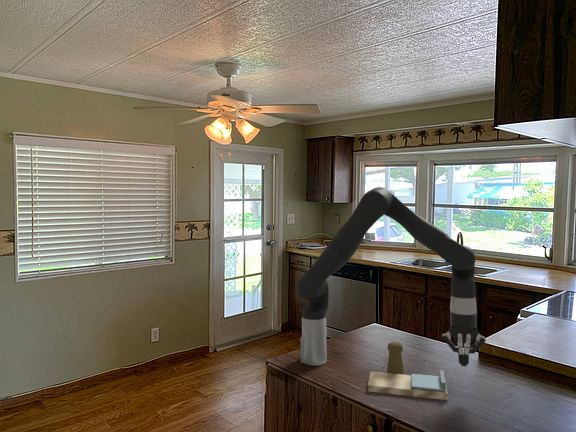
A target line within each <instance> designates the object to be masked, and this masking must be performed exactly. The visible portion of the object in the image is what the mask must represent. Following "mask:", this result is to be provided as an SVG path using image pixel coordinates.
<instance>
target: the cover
mask: <svg viewBox="0 0 576 432" xmlns="http://www.w3.org/2000/svg"><path fill="white" fill-rule="evenodd" d="M411 375H412V388H416V389H426V390H435V391H445V392H446V387H447V384H446V383H447V382H446V377H445V371H444V370H443V369H442V370H441V369H439V375H432V374H431V375H430V374H429V375H427V374H419V373H411Z"/></svg>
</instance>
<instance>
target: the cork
mask: <svg viewBox="0 0 576 432" xmlns="http://www.w3.org/2000/svg"><path fill="white" fill-rule="evenodd" d="M387 350H388V352H389V353H388V359H387V367H386V373H392V374H402V375H405V370H404V364H403V363H404V362H403V361H404V360H403V355H402V352H403V350H404V347H403V344H402V343H401V342H398V341H390V342H388V344H387Z"/></svg>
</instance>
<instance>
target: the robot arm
mask: <svg viewBox="0 0 576 432" xmlns="http://www.w3.org/2000/svg"><path fill="white" fill-rule="evenodd" d="M383 216H385V217H388V218H390V219H392V220H394V221H395V222H396V223H398V224H399V225H400V226H401V227H402V228H404V230H405V231H406V232H407V233H408V234H409V235H411V237H412V238H413V239H414V240H416V241H417V242H418V243H420V244H421V245H422V246H424V247H425V248H427V249H428V250H430V251H432V252H433V253H435V254H437V255H438V256H439V257H440V258H442V260H444V261H445V262H447V264H449V265H451V281H450V305H449V309H450V314H449V315H450V316H449V317H450V318H449V320H450V326H449V328H448V331H446V333H442V339H443V341H444V342H445V343H446V344H447V345H448V347H449V348H450V349H451V350H452V351H453V353H457V355H458V364H459V365H460V366H461V367H467V366H468V365H469V363H470V361H469V360H470V356H469V355H471V354H475V353H477V351H478V350H479V349H480V348H481V347H482V346H483V345H484V344H485V343H486V337H485V336H484V335H481V334H480V333H479V331H478V328H477V327H478V326H477V323H478V322H477V318H478V317H477V315H478V314H477V311H478V309H477V299H476V296H477V295H476V281H475V268H476V267H475V265H476V254H475V252H474V250H473V249H472V248H471V247H470V246H467V245H463V244H461V243H460V242H457V240H454V239H453V238H452V237H451V236H450V235H449V234H447V233H446V232H445V231H443V230H442V229H440V228H438V227H437V226H435V225H434V224H432V223H431V222H430V221H428V220H426V219H425V218H423V217H421V216H420V215H419V214H417V213H416V212H415V211H413V210H412V209H411V208H409V207H408V206H407V205H405V204H404V203H403V202H402V201H401V200H400V199H399V198H398V197H396V195H394V194H393V192H391V191H390V190H389V189H387V188H385V187H381V186H376V187H375V188H372V189H370V190H368V191H366V192H365V193H364V194H363V195H362V197H361V199H360V201H359V203H357V206H356V208H355V210H354V211H353V212H352V214H351V215H350V217H349V218H348V219H347V221H346V222H345V223H344V224H343V225H342V226H341V227H340V229H338V231H337V232H336V233H335V234H334V236H333V237H332V238H331V240H330V241H329V242H328V244H327V245H326V247H325V248H324V250H323V251H322V252H321V254H320V255H319V256H318V257H317V259H316V260H315V262H314V263H313V264H312V266H311V267H310V268H309V269H308V270H307V271H306V272H305V273H304V274H303V275H302V276H301V277H300V278H299V280H298V281H297V284H296V294H297V296H298V297H299V298H300V299H301V300H304V301H307V302H306V304H305V306H303V308H302V310H301V337H300V363H301V364H305V365H308V366H316V367H317V366H323V365H325V364H326V363H327V359H328V357H327V312H328V308H329V295H330V293H329V289H330V288H329V283H328V278H329V277H330V276H331V275H333V274H334V273H336V272H337V271H339V270H340V269H341V268H342V267H344V266H345V265H346V264H347V263H348V262H349V261H350V260H351V259H352V258H353V256H354V255H355V254H356V252H357V250H358V249H359V247H360V245H361V243H362V241H363V239H364V238H365V235H366V233H367V232H368V231H369V230H370V228H372V226H374V224H375V223H376V222H377V221H378V220H380V219H381V218H382V217H383ZM452 338H453V340H454V341H455V342H456V343H457V345H455V344H454V343H453V341H452V340H451V339H452ZM474 340H475V342H474ZM473 342H474V343H473ZM471 343H473V344H472V345H471ZM463 345H464V346H463Z"/></svg>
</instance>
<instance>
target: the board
mask: <svg viewBox="0 0 576 432" xmlns="http://www.w3.org/2000/svg"><path fill="white" fill-rule="evenodd" d="M367 392H369V393H370V392H371V393H379V394H390V395H396V396H397V395H398V396H407V397H416V398H424V399H433V400H434V399H435V400H442V401H448V400H449V399H448V398H449V394H448V393H449V392H448V388H447V386H446V392H445V391H435V390H426V389H416V388H412V374H411V375H409V374H404V375H402V374H392V373H387V372H381V371H370V374H369V379H368V381H367Z"/></svg>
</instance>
